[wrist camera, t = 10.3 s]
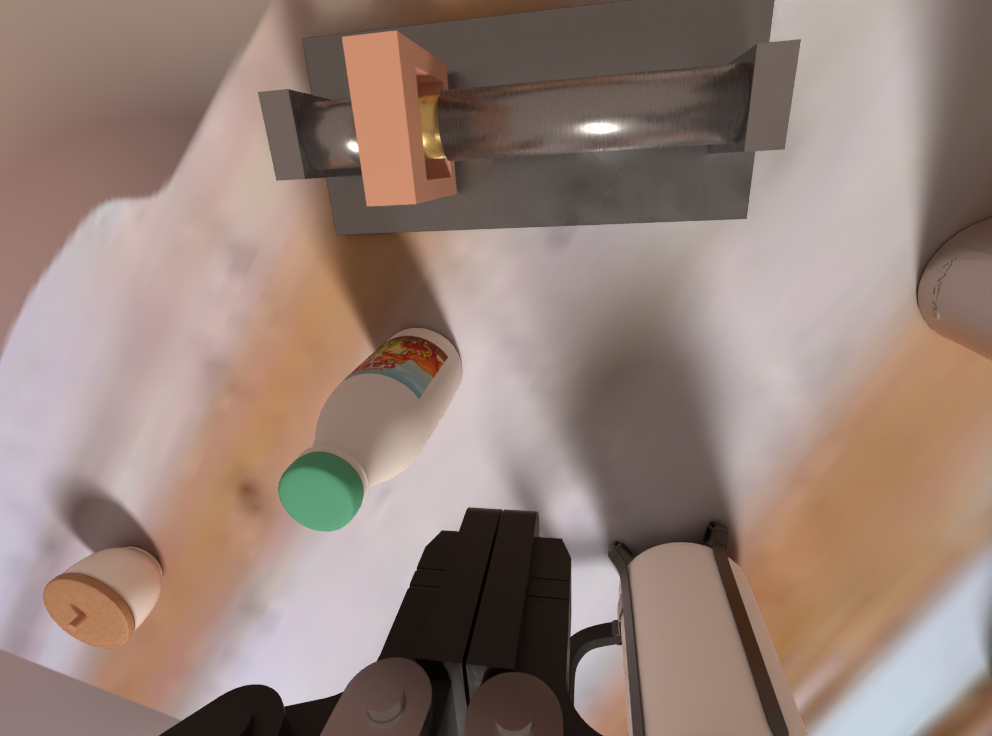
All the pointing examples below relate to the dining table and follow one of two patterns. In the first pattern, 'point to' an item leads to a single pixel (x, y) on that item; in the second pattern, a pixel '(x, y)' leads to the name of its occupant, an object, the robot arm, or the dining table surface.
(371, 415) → the milk bottle
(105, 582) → the lidded jar
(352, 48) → the collar
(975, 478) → the dining table surface
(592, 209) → the rail
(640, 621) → the coffee press
